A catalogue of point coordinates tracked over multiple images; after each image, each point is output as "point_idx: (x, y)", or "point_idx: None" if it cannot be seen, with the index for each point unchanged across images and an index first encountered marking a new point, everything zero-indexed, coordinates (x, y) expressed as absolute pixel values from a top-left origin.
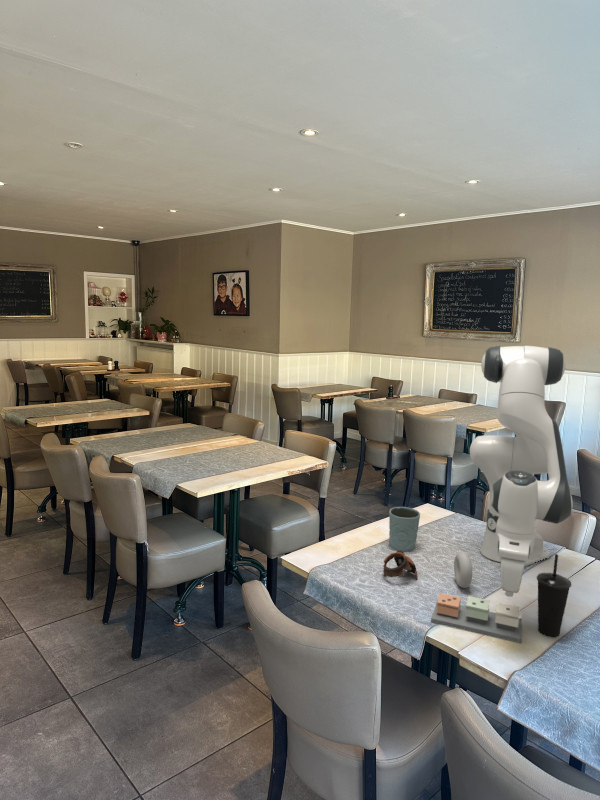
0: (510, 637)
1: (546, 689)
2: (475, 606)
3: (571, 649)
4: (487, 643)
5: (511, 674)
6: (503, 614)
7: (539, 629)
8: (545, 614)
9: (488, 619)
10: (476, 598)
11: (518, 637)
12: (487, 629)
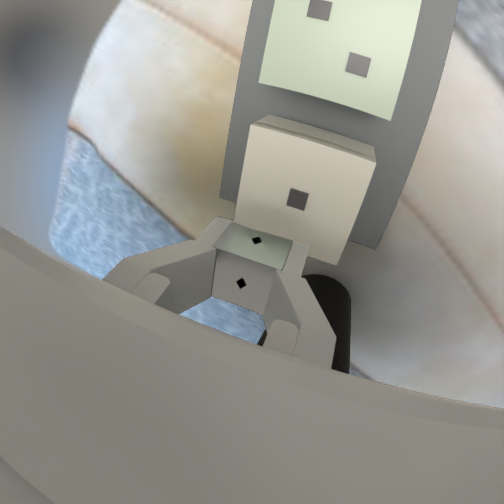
0: (226, 161)
1: (68, 199)
2: (283, 13)
3: (237, 316)
4: (189, 71)
5: (78, 132)
6: (245, 160)
7: (307, 280)
8: (264, 334)
9: None
10: (399, 40)
11: (227, 190)
12: (253, 77)
